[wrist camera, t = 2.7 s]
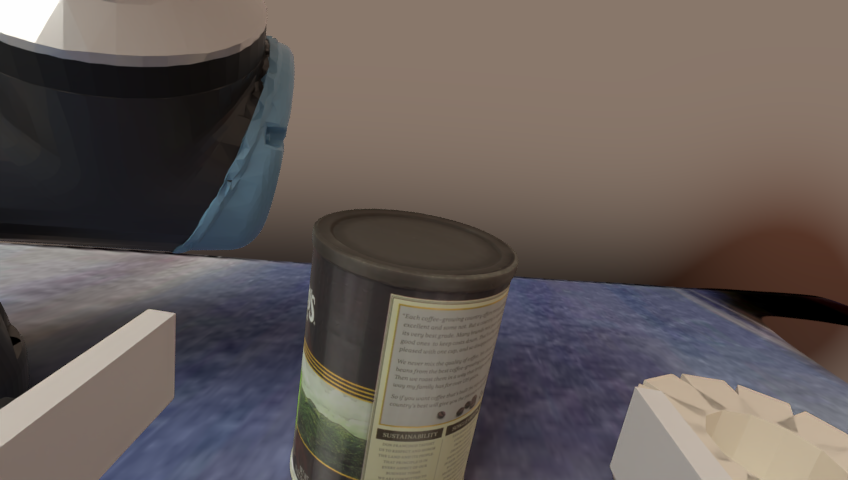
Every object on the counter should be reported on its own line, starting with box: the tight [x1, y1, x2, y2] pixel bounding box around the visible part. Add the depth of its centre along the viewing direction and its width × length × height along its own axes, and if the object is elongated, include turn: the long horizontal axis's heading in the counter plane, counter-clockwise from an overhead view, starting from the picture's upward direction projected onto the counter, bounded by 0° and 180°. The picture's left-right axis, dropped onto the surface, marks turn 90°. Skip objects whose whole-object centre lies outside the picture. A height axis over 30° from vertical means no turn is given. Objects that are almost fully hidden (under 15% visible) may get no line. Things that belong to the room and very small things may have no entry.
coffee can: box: [290, 209, 518, 480], centre depth 26 cm, size 10×10×14 cm
